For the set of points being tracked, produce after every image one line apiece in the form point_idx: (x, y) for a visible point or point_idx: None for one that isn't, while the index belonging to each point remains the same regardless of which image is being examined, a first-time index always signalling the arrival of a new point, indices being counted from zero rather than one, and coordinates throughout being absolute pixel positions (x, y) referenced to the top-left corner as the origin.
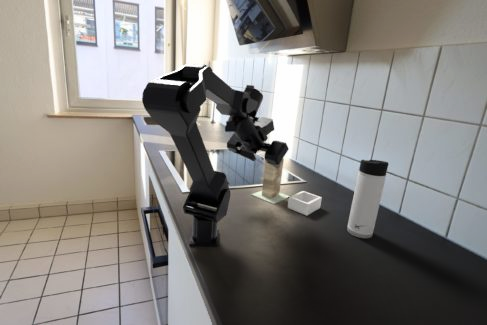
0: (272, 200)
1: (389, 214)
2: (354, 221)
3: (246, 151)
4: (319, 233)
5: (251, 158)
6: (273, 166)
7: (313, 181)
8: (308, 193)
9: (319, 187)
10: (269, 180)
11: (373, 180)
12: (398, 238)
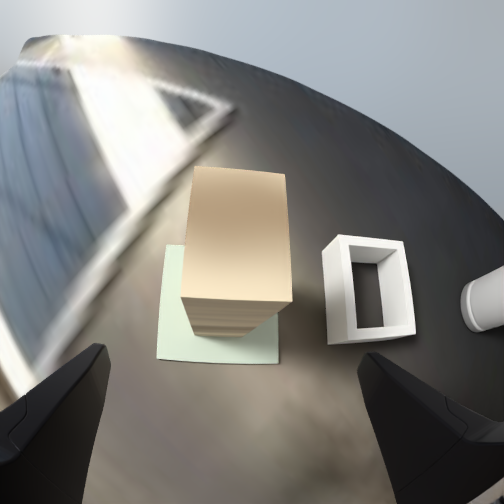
0: (257, 343)
1: (447, 179)
2: (496, 325)
3: (56, 488)
4: (444, 391)
5: (97, 409)
6: (376, 433)
7: (246, 95)
8: (364, 243)
9: (286, 120)
10: (235, 327)
11: None
12: (494, 269)
